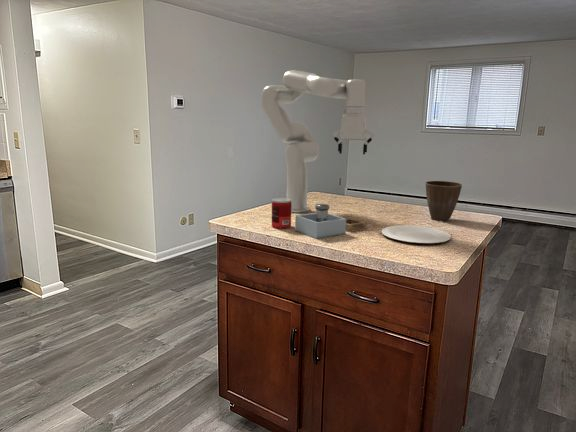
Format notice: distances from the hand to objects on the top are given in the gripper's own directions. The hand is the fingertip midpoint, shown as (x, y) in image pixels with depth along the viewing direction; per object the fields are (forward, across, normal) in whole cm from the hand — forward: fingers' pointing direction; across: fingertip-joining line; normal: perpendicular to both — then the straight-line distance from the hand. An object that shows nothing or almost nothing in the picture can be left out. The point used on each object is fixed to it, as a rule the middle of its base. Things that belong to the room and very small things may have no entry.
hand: (352, 153), depth 183 cm
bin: (+28, -9, -23) cm, 38 cm away
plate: (+29, +26, -19) cm, 43 cm away
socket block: (+28, +1, -13) cm, 31 cm away
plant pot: (+28, +39, +13) cm, 50 cm away
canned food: (+28, -26, -18) cm, 42 cm away
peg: (+28, -9, -23) cm, 37 cm away
